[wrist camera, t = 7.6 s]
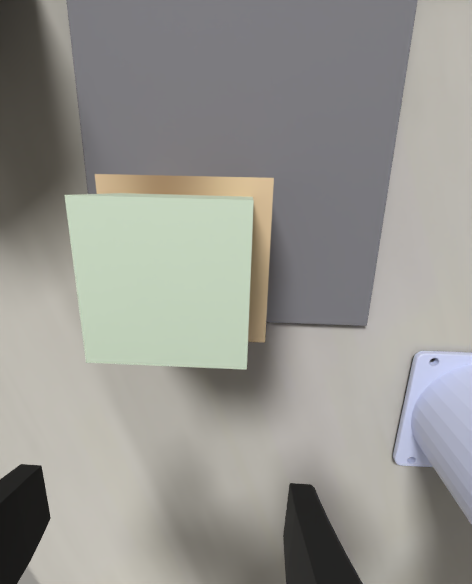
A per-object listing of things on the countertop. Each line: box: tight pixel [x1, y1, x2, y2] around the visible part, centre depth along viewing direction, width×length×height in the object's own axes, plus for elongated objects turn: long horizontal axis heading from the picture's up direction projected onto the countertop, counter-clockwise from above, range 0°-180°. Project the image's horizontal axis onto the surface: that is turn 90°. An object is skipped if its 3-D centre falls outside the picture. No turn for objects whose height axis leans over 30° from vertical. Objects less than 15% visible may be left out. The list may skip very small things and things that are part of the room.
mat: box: [67, 0, 417, 326], centre depth 16 cm, size 15×17×1 cm
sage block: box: [65, 193, 254, 370], centre depth 10 cm, size 4×4×4 cm
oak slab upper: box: [95, 174, 274, 342], centre depth 13 cm, size 6×6×3 cm
